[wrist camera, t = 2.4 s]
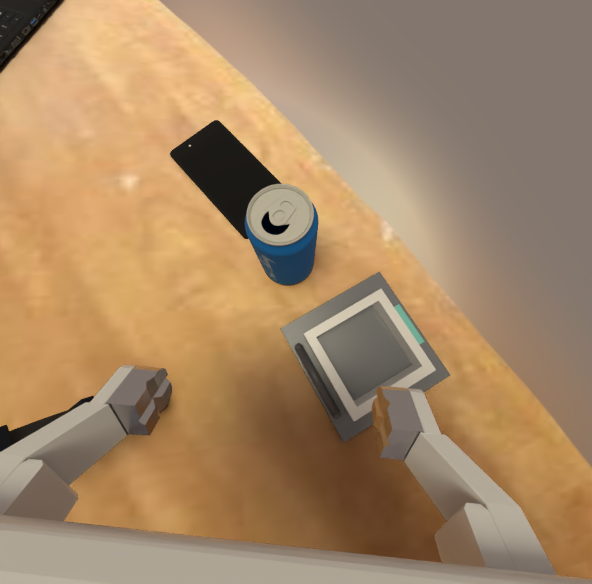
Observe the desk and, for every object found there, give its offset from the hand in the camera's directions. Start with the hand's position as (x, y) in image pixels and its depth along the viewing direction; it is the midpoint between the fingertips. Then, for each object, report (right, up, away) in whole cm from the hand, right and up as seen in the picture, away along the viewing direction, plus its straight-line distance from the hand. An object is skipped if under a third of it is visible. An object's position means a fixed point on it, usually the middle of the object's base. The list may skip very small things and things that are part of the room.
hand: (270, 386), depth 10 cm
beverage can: (0, +7, +23) cm, 24 cm away
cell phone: (-8, +20, +26) cm, 34 cm away
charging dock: (+9, -3, +20) cm, 22 cm away
